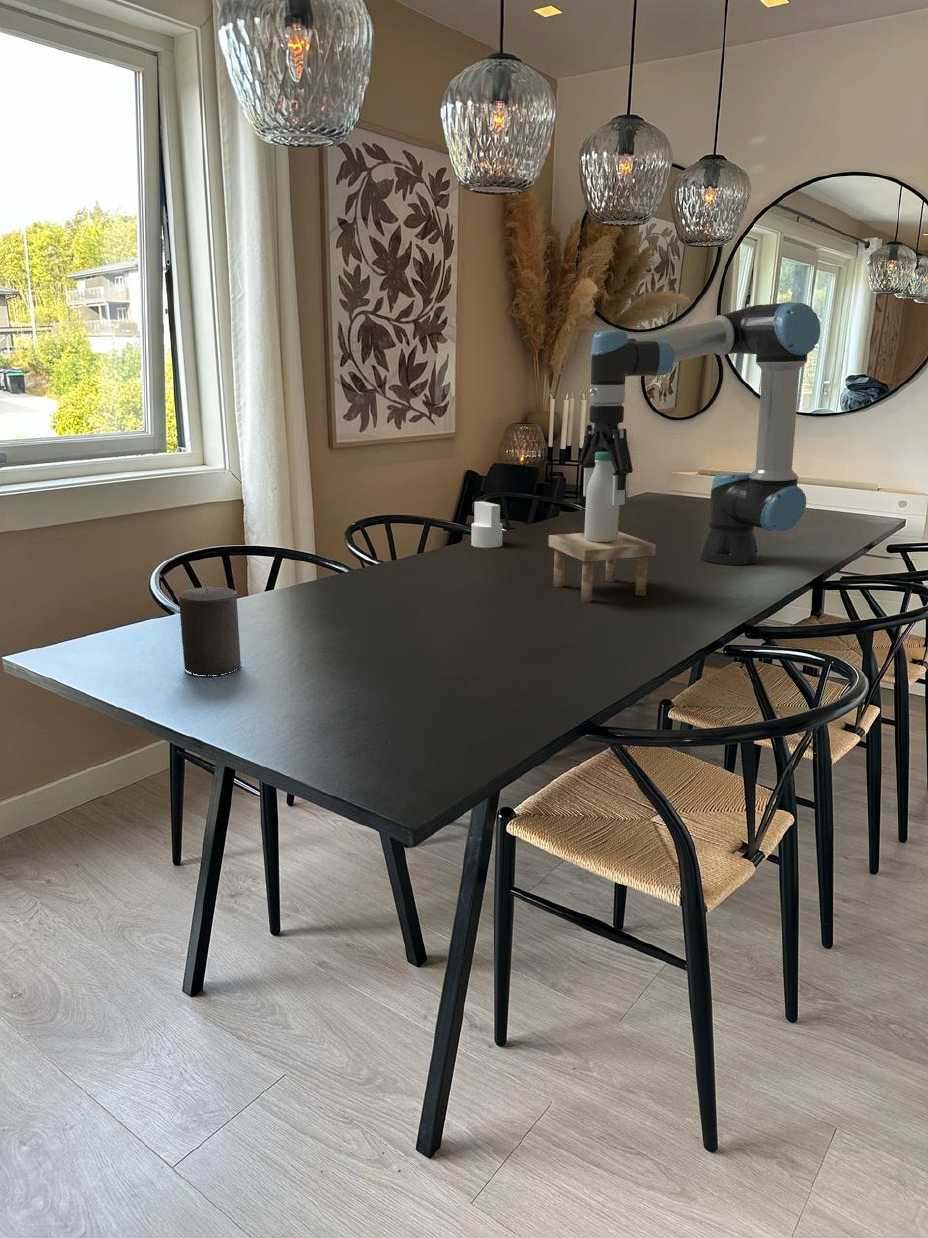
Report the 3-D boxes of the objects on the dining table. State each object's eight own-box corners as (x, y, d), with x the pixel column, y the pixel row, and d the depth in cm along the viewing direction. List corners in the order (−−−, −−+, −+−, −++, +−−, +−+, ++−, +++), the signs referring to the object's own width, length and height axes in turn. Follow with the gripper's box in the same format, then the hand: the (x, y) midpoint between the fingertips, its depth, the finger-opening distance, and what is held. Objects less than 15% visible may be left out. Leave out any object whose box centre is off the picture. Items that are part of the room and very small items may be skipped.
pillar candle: (188, 680, 151) (181, 595, 146) (181, 662, 159) (174, 581, 155) (246, 673, 154) (241, 590, 150) (236, 656, 163) (231, 577, 159)
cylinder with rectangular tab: (508, 545, 258) (509, 504, 254) (483, 549, 253) (483, 507, 250) (490, 540, 265) (490, 500, 262) (465, 543, 260) (465, 502, 257)
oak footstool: (613, 578, 220) (615, 530, 216) (652, 595, 204) (655, 544, 200) (547, 584, 214) (548, 535, 210) (582, 603, 198) (584, 550, 194)
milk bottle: (617, 543, 201) (622, 454, 195) (582, 542, 202) (586, 453, 197) (618, 537, 208) (623, 450, 202) (585, 535, 210) (589, 449, 204)
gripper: (566, 402, 206) (563, 493, 213) (620, 407, 184) (616, 509, 190) (594, 401, 209) (591, 491, 215) (652, 406, 187) (646, 507, 193)
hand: (603, 500), depth 203 cm, fingers open, 13 cm apart
